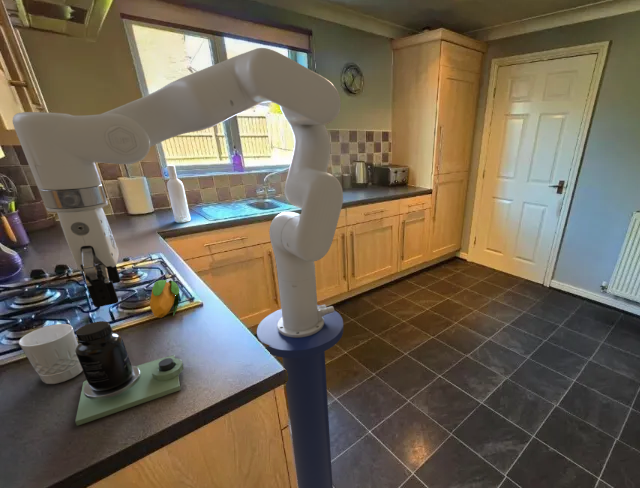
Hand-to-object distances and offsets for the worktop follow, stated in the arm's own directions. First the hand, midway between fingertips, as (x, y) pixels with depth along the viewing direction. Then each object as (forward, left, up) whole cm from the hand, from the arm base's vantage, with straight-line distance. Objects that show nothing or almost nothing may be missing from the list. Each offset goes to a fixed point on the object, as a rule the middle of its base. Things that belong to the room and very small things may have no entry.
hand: (109, 293), depth 59 cm
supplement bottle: (+4, 0, -18) cm, 19 cm away
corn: (-7, -32, -22) cm, 39 cm away
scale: (+1, 0, -21) cm, 21 cm away
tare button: (-5, 0, -19) cm, 20 cm away
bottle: (-21, -141, -22) cm, 145 cm away
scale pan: (+4, 0, -19) cm, 19 cm away
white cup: (+13, -13, -22) cm, 29 cm away
